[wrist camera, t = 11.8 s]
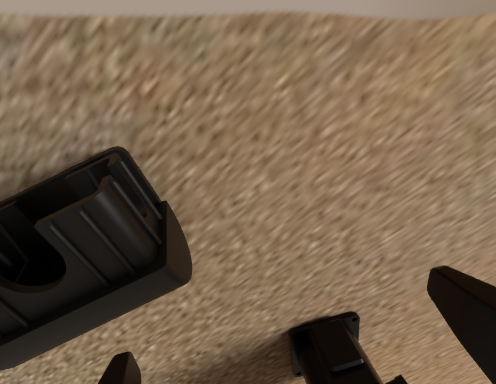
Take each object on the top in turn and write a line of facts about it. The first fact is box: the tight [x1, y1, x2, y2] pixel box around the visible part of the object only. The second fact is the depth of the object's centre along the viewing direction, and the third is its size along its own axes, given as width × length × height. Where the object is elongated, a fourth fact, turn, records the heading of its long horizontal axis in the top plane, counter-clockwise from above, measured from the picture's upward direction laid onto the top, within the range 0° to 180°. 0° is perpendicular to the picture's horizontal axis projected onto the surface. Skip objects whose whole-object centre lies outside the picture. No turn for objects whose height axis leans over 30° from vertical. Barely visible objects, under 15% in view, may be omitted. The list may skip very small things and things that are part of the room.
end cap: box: [0, 146, 192, 370], centre depth 17 cm, size 10×7×7 cm
